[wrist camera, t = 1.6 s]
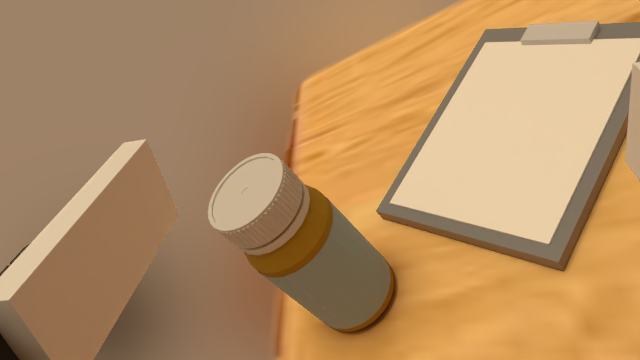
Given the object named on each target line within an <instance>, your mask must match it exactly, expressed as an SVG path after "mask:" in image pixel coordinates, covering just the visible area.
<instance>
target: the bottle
mask: <svg viewBox="0 0 640 360" xmlns="http://www.w3.org/2000/svg"><path fill="white" fill-rule="evenodd" d="M208 218H209V221H210V223H211V225H212V226H213V228H214V229H215V230H216V231H218V232H219V233H220V234H221V235H223V236H224V237H225V238H226V239H228V240H229V241H230V242H231V243H233V244H234V245H236V246H237V247H239V248H240V249H241V250H243V251H244V253H245V255H246V257H247V259H248V261H249V262H250V263H251V265H252V266H253V267H254V268H255V269H256V270H257V271H258V272H259V273H261V274H262V275H263V276H265V277H266V278H267V279H268V280H270V281H271V282H272V283H273V284H275V285H276V286H277V287H279V288H280V289H281V290H283V291H284V292H285V293H286V294H288V295H289V296H290V297H292V298H293V299H294V300H295V301H297V302H298V303H299V304H301V305H302V306H303V307H304V308H306V309H307V310H308V311H310V312H311V313H312V314H314V315H315V316H316V317H317V318H319V319H320V320H321V321H323V322H324V323H325V324H327V325H328V326H330V327H331V328H333V329H335V330H338V331H341V332H352V331H356V330H359V329H362V328H364V327H366V326H368V325H369V324H371V323H372V322H374V321H375V320H376V319H377V318H378V317H379V316H380V315H381V314H382V313H383V311H384V310H385V309H386V307H387V305H388V303H389V301H390V299H391V297H392V293H393V287H394V277H393V272H392V269H391V267H390V266H389V264H388V262H387V261H386V260H385V259H384V258H383V256H382V255H381V254H380V253H379V252H378V251H377V250H376V249H375V248H374V247H373V246H372V245H371V244H370V243H369V242H368V241H367V240H366V239H365V237H364V236H363V235H362V234H361V233H360V232H359V231H358V230H357V229H356V228H355V227H354V226H353V225H352V224H351V223H350V222H349V221H348V220H347V219H346V217H345V216H344V215H343V214H342V213H341V212H340V211H339V210H338V209H337V208H336V207H335V206H334V205H333V204H332V203H331V202H330V201H329V200H328V199H327V198H326V197H325V196H324V195H323V194H322V193H321V192H319V191H318V190H317V189H315V188H312V187H310V186H307V185H305V184H304V183H303V182H302V181H301V180H300V179H299V178H298V176H297V175H296V174H295V173H294V172H293V171H292V170H291V169H290V168H289V167H288V166H287V165H286V164H285V163H284V162H283V161H282V160H281V159H280V158H279V157H277V156H275V155H273V154H270V153H261V154H257V155H254V156H251V157H249V158H247V159H245V160H243V161H242V162H240V163H239V164H237V165H236V166H235V167H234V168H233V169H231V170H230V171H229V173H227V175H225V177H224V178H223V179H222V180H221V182H220V183H219V184H218V186H217V187H216V189H215V191H214V193H213V195H212V197H211V200H210V203H209V208H208Z"/></svg>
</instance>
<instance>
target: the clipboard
mask: <svg viewBox="0 0 640 360" xmlns="http://www.w3.org/2000/svg"><path fill="white" fill-rule="evenodd" d="M636 62H640V22H633V23H612V24H599V22H598V21H587V22H568V23H548V24H529V26H528V27H527V28H507V29H486V30H485V31H484V33H483V35H482V36H481V38H480V40H479V41H478V43H477V45H476V46H475V48H474V50H473V51H472V53H471V55H470V56H469V58H468V60H467V61H466V63H465V65H464V66H463V68H462V70H461V71H460V73H459V75H458V76H457V78H456V80H455V81H454V83H453V85H452V86H451V88H450V89H449V91H448V93H447V94H446V96H445V98H444V99H443V101H442V103H441V104H440V106H439V108H438V109H437V111H436V113H435V114H434V116H433V118H432V119H431V121H430V123H429V124H428V126H427V128H426V129H425V131H424V133H423V134H422V136H421V138H420V139H419V141H418V142H417V144H416V146H415V147H414V149H413V151H412V152H411V154H410V156H409V157H408V159H407V161H406V162H405V164H404V166H403V167H402V169H401V171H400V172H399V174H398V176H397V177H396V179H395V181H394V182H393V184H392V186H391V187H390V189H389V191H388V192H387V194H386V196H385V197H384V199H383V200H382V202H381V204H380V205H379V207H378V209H377V210H376V211H377V212H378V214H379V215H380V216H381V217H382V218H383V219H387V220H390V221H393V222H397V223H400V224H404V225H407V226H411V227H414V228H417V229H421V230H424V231H428V232H431V233H435V234H438V235H441V236H445V237H448V238H452V239H455V240H459V241H462V242H465V243H469V244H472V245H476V246H479V247H482V248H486V249H489V250H493V251H496V252H500V253H503V254H506V255H510V256H513V257H517V258H520V259H524V260H527V261H530V262H534V263H537V264H541V265H544V266H548V267H551V268H554V269H558V270H561V271H563V270H564V268H565V266H566V264H567V262H568V260H569V257H570V255H571V253H572V251H573V249H574V246H575V244H576V242H577V240H578V238H579V236H580V233H581V231H582V229H583V227H584V225H585V222H586V220H587V218H588V216H589V214H590V212H591V209H592V207H593V205H594V203H595V201H596V198H597V196H598V194H599V192H600V190H601V188H602V185H603V183H604V181H605V179H606V177H607V174H608V172H609V170H610V168H611V166H612V164H613V161H614V159H615V157H616V155H617V153H618V150H619V148H620V146H621V144H622V142H623V140H624V137H625V135H626V133H627V128H628V115H629V102H630V89H631V76H632V63H636Z"/></svg>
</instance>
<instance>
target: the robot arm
mask: <svg viewBox="0 0 640 360" xmlns="http://www.w3.org/2000/svg"><path fill="white" fill-rule="evenodd" d="M625 161H626V163H627V164H628V166H629V167H630V168H631V170H632V171H633V172H634V174H635V175H636V176H637V178H638V179H639V181H640V62H636V63H632V76H631V89H630V102H629V115H628V128H627V141H626V154H625ZM178 216H179V213H178V211H177V208H176V206H175V204H174V201H173V199H172V197H171V194H170V192H169V190H168V188H167V185H166V183H165V181H164V178H163V176H162V174H161V171H160V169H159V167H158V165H157V162H156V160H155V158H154V155H153V153H152V151H151V148H150V146H149V144H148V141H147V140H146V139H145V140H139V141H132V142H127V143H123V144H122V145H121V146H120V147H119V148H118V150H117V151H116V152H115V153H114V154H113V155H112V156H111V157H110V158H109V159H108V160H107V161H106V163H105V164H104V165H103V166H102V167H101V168H100V169H99V170H98V171H97V172H96V174H94V176H93V177H92V178H91V179H90V180H89V181H88V182H87V183H86V184H85V185H84V186H83V188H82V189H81V190H80V191H79V192H78V193H77V194H76V195H75V196H74V197H73V198H72V199H71V200H70V201H69V203H68V204H67V205H66V206H65V207H64V208H63V209H62V210H61V211H60V212H59V213H58V215H57V216H56V217H55V218H54V219H53V220H52V221H51V222H50V223H49V224H48V225H47V226H46V227H45V229H44V230H43V231H42V232H41V233H40V234H39V235H38V236H37V237H36V239H34V241H33V242H32V243H30V244H29V245H27V246H26V247H25V248H23V249H22V250H21V252H20V253H19V254H18V255H17V256H16V257H15V258H14V259H13V260H12V261H11V262H10V265H9V266H7V267H6V268H5V269H4V270H3V271H2V272H1V273H0V360H93V359H94V358H95V356H96V354H97V353H98V351H99V349H100V347H101V346H102V344H103V342H104V341H105V339H106V337H107V336H108V334H109V332H110V330H111V329H112V327H113V326H114V324H115V322H116V320H117V319H118V317H119V315H120V314H121V312H122V310H123V309H124V307H125V305H126V304H127V302H128V300H129V299H130V297H131V295H132V293H133V292H134V290H135V288H136V287H137V285H138V283H139V282H140V280H141V278H142V277H143V275H144V273H145V272H146V270H147V268H148V266H149V265H150V263H151V261H152V260H153V258H154V256H155V254H156V253H157V251H158V249H159V248H160V246H161V244H162V243H163V241H164V239H165V238H166V236H167V234H168V233H169V231H170V229H171V228H172V226H173V224H174V223H175V221H176V219H177V217H178Z"/></svg>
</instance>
